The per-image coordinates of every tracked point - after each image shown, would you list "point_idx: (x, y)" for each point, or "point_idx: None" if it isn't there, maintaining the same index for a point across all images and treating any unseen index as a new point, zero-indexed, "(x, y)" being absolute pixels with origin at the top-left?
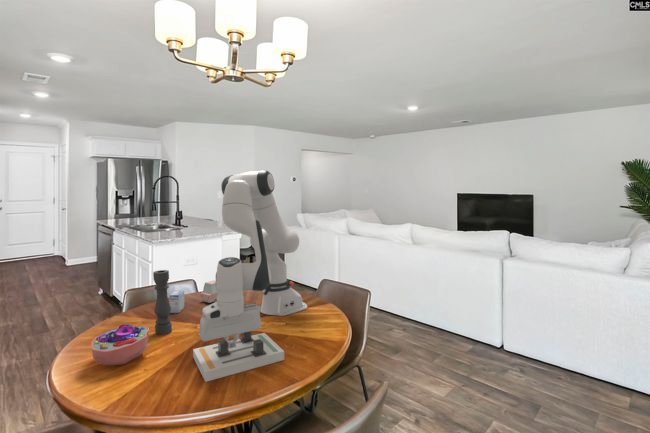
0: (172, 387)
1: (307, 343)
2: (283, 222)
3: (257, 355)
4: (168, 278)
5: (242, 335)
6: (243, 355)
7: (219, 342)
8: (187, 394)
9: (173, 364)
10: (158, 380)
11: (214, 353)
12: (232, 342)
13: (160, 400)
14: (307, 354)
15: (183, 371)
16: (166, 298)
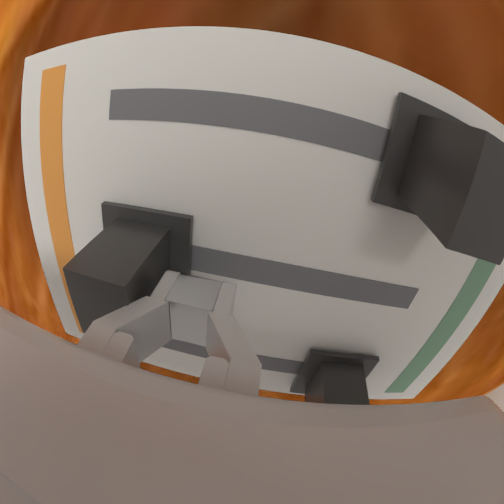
0: (13, 261)
1: None
2: None
3: (304, 393)
4: None
5: (433, 134)
6: (255, 346)
7: (74, 304)
8: (50, 319)
9: (4, 94)
10: None
11: (100, 202)
12: (192, 336)
13: (8, 293)
14: (465, 371)
15: (21, 180)
16: None
